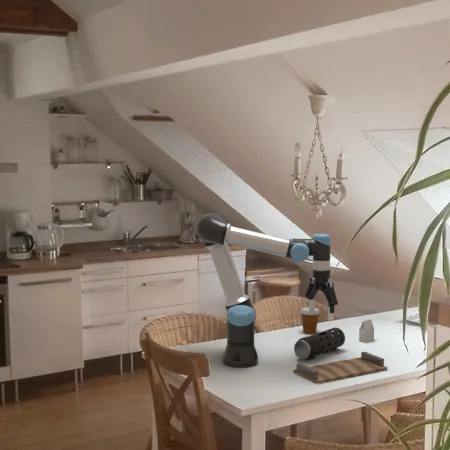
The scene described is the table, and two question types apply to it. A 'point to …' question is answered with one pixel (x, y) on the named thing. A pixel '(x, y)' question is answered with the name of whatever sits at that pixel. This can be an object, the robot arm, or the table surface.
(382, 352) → the table surface
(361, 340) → the grey paper bag
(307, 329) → the disposable coffee cup
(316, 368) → the mounting board
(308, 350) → the muzzle brake
